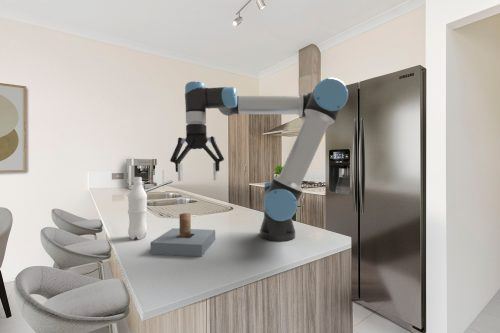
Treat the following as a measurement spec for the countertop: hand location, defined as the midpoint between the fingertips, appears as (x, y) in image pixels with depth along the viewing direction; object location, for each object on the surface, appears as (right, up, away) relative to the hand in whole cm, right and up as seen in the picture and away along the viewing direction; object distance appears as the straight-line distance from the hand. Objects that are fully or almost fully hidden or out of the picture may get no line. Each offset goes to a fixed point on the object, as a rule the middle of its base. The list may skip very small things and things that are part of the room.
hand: (197, 180), depth 96 cm
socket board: (-4, -24, -2) cm, 25 cm away
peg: (-4, -25, -2) cm, 25 cm away
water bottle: (-26, -24, +8) cm, 37 cm away
